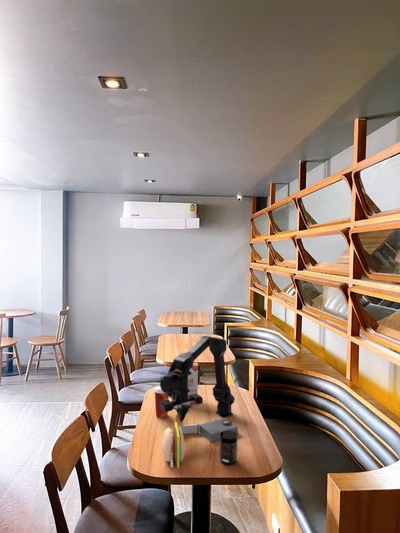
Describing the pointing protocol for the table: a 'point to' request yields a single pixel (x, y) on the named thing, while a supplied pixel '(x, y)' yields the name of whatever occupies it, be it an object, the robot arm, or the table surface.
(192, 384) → the cracker box
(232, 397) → the robot arm
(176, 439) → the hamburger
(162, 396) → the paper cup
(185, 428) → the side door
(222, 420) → the box with round button
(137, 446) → the table surface
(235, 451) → the supplement container
